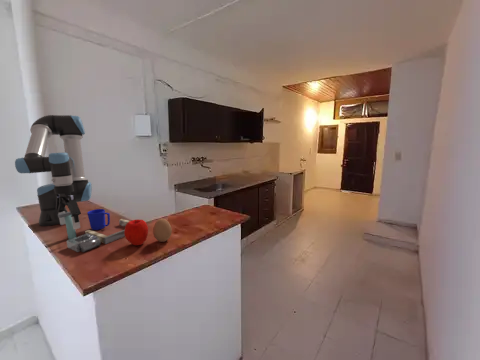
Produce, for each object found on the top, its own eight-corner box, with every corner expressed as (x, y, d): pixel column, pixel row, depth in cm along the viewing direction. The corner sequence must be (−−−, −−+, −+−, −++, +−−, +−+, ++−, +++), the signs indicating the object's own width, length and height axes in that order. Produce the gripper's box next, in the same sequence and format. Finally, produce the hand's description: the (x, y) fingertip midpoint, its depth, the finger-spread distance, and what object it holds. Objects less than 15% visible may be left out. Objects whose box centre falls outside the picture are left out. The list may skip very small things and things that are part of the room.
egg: (163, 246, 104) (161, 222, 102) (150, 243, 108) (148, 220, 106) (176, 239, 112) (174, 216, 110) (163, 236, 115) (161, 214, 113)
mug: (105, 232, 123) (102, 214, 121) (86, 230, 125) (83, 213, 123) (116, 226, 130) (114, 209, 129) (98, 225, 133) (95, 208, 131)
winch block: (67, 247, 106) (66, 239, 105) (88, 240, 113) (87, 232, 112) (82, 254, 99) (80, 245, 98) (103, 245, 107) (102, 237, 106)
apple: (125, 251, 101) (122, 225, 98) (126, 242, 110) (123, 217, 107) (149, 246, 104) (147, 221, 102) (149, 238, 113) (146, 214, 111)
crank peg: (61, 240, 114) (56, 214, 111) (79, 234, 121) (75, 209, 118) (64, 241, 112) (60, 215, 110) (82, 235, 119) (78, 210, 116)
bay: (85, 236, 117) (85, 231, 117) (122, 223, 134) (122, 218, 134) (105, 244, 108) (105, 238, 108) (142, 229, 125) (142, 224, 125)
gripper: (42, 184, 115) (50, 224, 118) (66, 188, 102) (74, 233, 106) (60, 181, 121) (66, 220, 124) (85, 185, 108) (91, 227, 112)
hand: (70, 226), depth 115 cm, fingers open, 13 cm apart
